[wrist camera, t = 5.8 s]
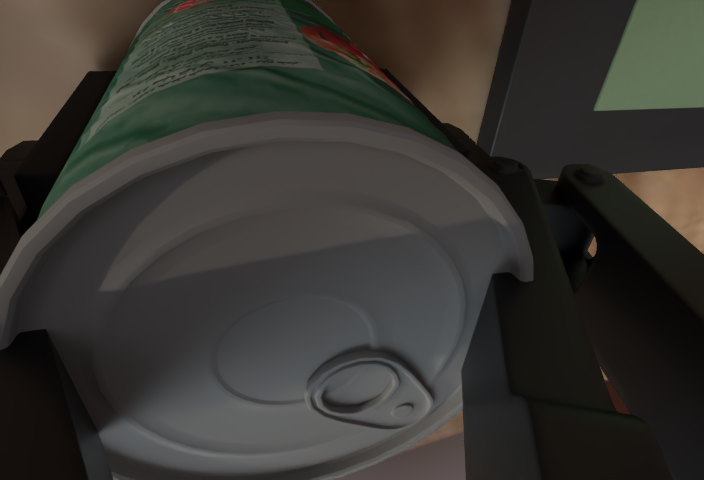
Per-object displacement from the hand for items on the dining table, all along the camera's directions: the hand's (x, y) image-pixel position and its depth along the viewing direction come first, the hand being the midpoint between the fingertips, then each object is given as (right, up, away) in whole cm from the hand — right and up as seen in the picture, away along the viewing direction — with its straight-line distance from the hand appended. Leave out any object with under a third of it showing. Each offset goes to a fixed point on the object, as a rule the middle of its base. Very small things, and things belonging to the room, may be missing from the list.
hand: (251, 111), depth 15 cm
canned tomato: (0, 0, 0) cm, 0 cm away
